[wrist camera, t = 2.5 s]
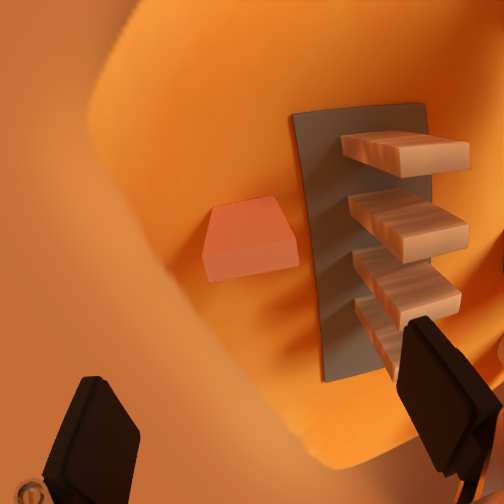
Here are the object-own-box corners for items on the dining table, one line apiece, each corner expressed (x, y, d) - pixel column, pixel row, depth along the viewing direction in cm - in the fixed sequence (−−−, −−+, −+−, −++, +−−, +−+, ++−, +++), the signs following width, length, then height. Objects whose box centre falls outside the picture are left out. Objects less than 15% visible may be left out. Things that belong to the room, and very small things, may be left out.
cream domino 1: (354, 298, 30) (395, 367, 21) (400, 286, 30) (451, 348, 20) (354, 311, 30) (393, 382, 21) (399, 300, 30) (447, 363, 21)
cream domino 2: (339, 135, 24) (399, 148, 15) (394, 130, 24) (469, 142, 15) (342, 155, 25) (401, 178, 15) (396, 148, 24) (470, 169, 15)
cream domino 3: (347, 195, 26) (403, 238, 17) (399, 187, 26) (469, 224, 17) (349, 213, 26) (403, 264, 17) (400, 204, 26) (467, 247, 17)
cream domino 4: (351, 250, 28) (400, 312, 19) (401, 240, 28) (462, 293, 18) (352, 266, 28) (399, 331, 19) (401, 255, 28) (458, 312, 19)
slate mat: (291, 114, 23) (292, 114, 23) (422, 103, 23) (425, 103, 23) (324, 380, 34) (325, 382, 34) (417, 354, 34) (419, 356, 34)
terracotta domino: (213, 206, 26) (201, 256, 17) (273, 194, 26) (296, 238, 17) (217, 225, 27) (208, 283, 18) (277, 213, 27) (299, 265, 17)
